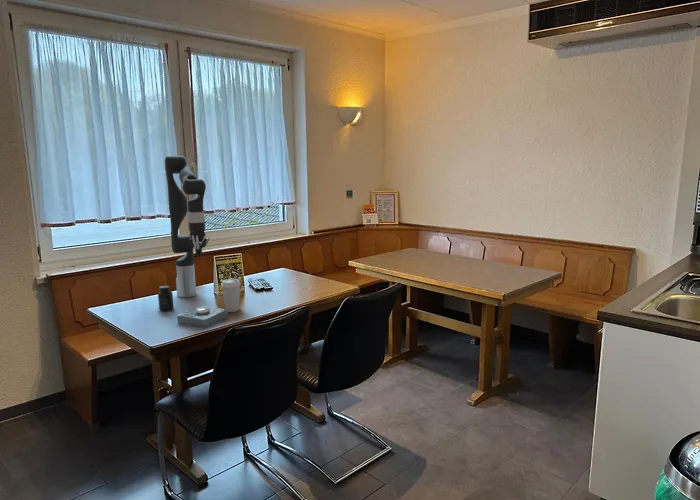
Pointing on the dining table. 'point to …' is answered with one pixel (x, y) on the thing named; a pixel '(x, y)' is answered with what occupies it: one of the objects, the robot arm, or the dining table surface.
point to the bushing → (202, 310)
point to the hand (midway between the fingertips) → (199, 256)
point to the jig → (202, 317)
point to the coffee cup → (231, 294)
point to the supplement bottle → (165, 299)
